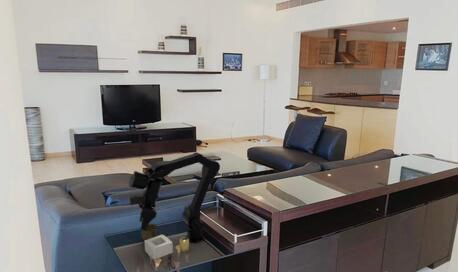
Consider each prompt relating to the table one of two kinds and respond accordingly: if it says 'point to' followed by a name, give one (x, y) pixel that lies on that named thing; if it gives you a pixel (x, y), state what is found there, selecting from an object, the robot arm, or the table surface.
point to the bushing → (184, 245)
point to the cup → (149, 231)
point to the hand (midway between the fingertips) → (141, 225)
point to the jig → (158, 246)
